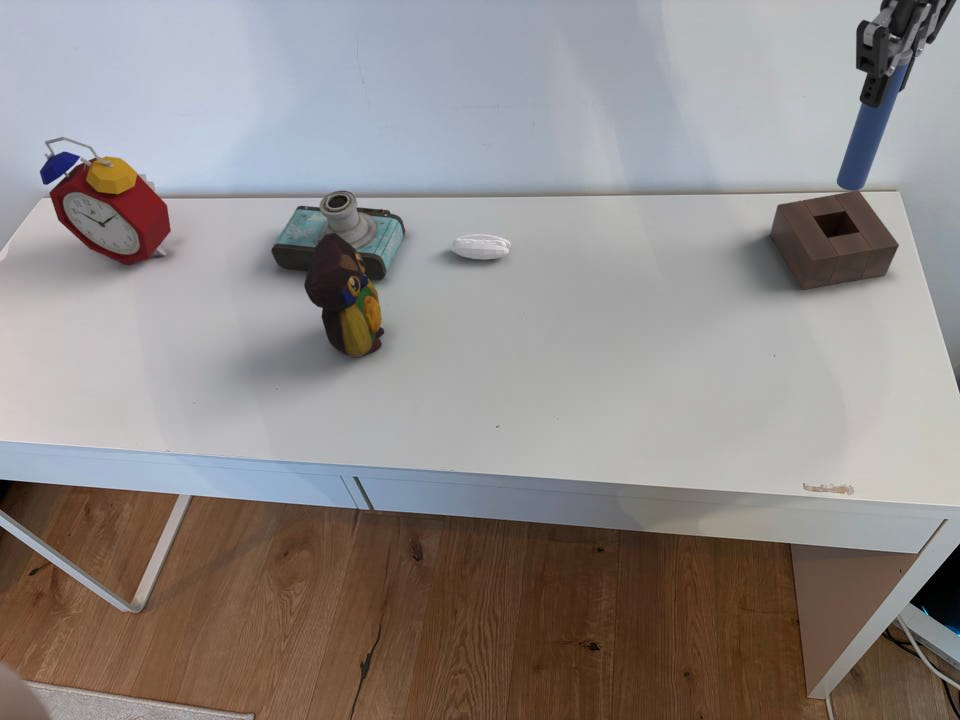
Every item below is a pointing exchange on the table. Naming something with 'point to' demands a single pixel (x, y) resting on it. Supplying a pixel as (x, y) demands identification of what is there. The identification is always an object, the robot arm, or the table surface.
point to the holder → (832, 239)
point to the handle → (870, 132)
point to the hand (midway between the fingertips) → (881, 95)
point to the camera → (340, 233)
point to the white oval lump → (481, 246)
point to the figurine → (344, 297)
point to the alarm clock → (107, 205)
